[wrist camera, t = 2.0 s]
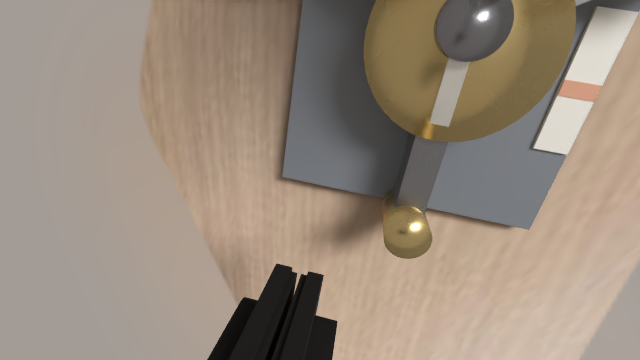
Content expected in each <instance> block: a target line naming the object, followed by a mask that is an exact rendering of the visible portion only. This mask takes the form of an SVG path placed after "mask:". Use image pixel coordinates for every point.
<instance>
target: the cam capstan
mask: <svg viewBox="0 0 640 360" xmlns="http://www.w3.org/2000/svg"><path fill="white" fill-rule="evenodd" d="M588 1H590V0H376V1H375V3H374V6H373V9H372V11H371V14H370V16H369V20H368V24H367V28H366V32H365V40H364V65H365V72H366V76H367V80H368V84H369V86H370V89H371V91H372V94H373V96H374V98H375V99H376V101H377V103H378V104H379V106H380V107H381V109H382V110H383V111H384V113H385V114H386V115H387V116H388V117H389V118H390V119H391V120H392V121H393V122H395V123H396V124H397V125H399V126H400V127H401V128H403V129H405V130H406V131H408V132H410V134H409V137H408V141H407V144H406V148H405V152H404V155H403V159H402V162H401V166H400V169H399V173H398V177H397V180H396V184H395V187H394V189H393V190H391V191H389V192H388V193H387V194H386V195H385V197H384V198H383V201H382V214H383V233H384V243H385V246H386V248H387V249H388V250H389V251H390V252H391V253H392V254H393V255H395V256H397V257H400V258H406V259H411V258H416V257H419V256H421V255H423V254H424V253H425V252H427V250H428V249H429V248H430V246H431V243H432V234H431V231H430V228H429V225H428V222H427V219H426V216H425V211H426V208H427V205H428V202H429V199H430V196H431V193H432V190H433V187H434V184H435V181H436V178H437V175H438V172H439V169H440V166H441V163H442V160H443V157H444V154H445V151H446V148H447V145H448V142H461V141H470V140H474V139H478V138H482V137H485V136H488V135H491V134H493V133H496V132H498V131H500V130H502V129H504V128H506V127H508V126H509V125H511V124H513V123H514V122H516V121H517V120H519V119H520V118H522V117H523V116H524V115H525V114H527V113H528V112H529V111H530V110H531V109H532V108H533V107H534V106H536V105H537V104H538V103H539V102H540V101H541V99H542V98H543V97H544V96H545V95H546V93H547V92H548V91H549V90H550V89H551V87H552V86H553V84H554V83H555V81H556V80H557V78H558V76H559V75H560V73H561V71H562V69H563V67H564V65H565V63H566V60H567V58H568V55H569V52H570V50H571V46H572V42H573V38H574V33H575V24H576V6H577V5H580V4H582V3H585V2H588Z"/></svg>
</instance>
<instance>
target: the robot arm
mask: <svg viewBox="0 0 640 360" xmlns="http://www.w3.org/2000/svg"><path fill="white" fill-rule="evenodd" d="M323 276H324V275H321V274H317V273H313V272H308V274H307V275H303V274H301V277H300V279H299V282H298V285H297V288H296V291H295V294H294V290H295V284H296V277H297V273H295V272H292V267H289V266H284V265H280V264H276V266H275V267H274V270H273V272H272V274H271V276H270V278H269V280H268V282H267V284H266V286H265V288H264V290H263V292H262V294H261V296H260V298H259V300H258V301H257V300H254V299H250V298H246V297H244V298H243V299H242V300H241V302H240V303H239V305H238V307H237V309H236V310H235V312H234V314H233V316H232V317H231V319H230V321H229V323H228V324H227V326H226V328H225V330H224V331H223V333H222V335H221V337H220V338H219V340H218V342H217V344H216V346H215V347H214V349H213V351H212V353H211V354H210V356H209V358H208V359H207V360H332V356H333V349H334V342H335V335H336V328H337V321H335V320H331V319H327V318H323V317H320V316H316V311H317V306H318V301H319V296H320V291H321V286H322V281H323ZM293 296H294V297H293Z"/></svg>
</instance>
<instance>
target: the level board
mask: <svg viewBox="0 0 640 360" xmlns="http://www.w3.org/2000/svg"><path fill="white" fill-rule="evenodd" d="M375 1H376V0H303V2H302V11H301V19H300V28H299V37H298V45H297V54H296V63H295V71H294V80H293V88H292V97H291V106H290V114H289V123H288V132H287V140H286V149H285V157H284V166H283V175H282V177H285V178H290V179H294V180H299V181H304V182H308V183H313V184H318V185H322V186H327V187H332V188H336V189H341V190H346V191H350V192H355V193H360V194H364V195H369V196H374V197H379V198H384V197H385V195H386V194H387V193H388V192H389V191H391V190H393V189H394V187H395V184H396V180H397V177H398V173H399V169H400V166H401V162H402V159H403V155H404V152H405V148H406V144H407V141H408V137H409V134H410V132H408V131H406V130H405V129H403V128H401V127H400V126H399V125H397V124H396V123H395V122H393V121H392V120H391V119H390V118H389V117H388V116H387V115H386V114H385V113H384V111H383V110H382V109H381V107H380V106H379V104H378V103H377V101H376V99H375V98H374V96H373V94H372V91H371V89H370V86H369V84H368V80H367V76H366V72H365V65H364V40H365V32H366V28H367V24H368V20H369V16H370V14H371V11H372V9H373V6H374V3H375ZM639 10H640V0H590V1H588V2H585V3H582V4H580V5H577V6H576V24H575V33H574V38H573V42H572V46H571V50H570V52H569V55H568V58H567V60H566V63H565V65H564V67H563V69H562V71H561V73H560V75H559V76H558V78H557V80H556V81H555V83H554V84H553V86H552V87H551V89H550V90H549V91H548V92H547V93H546V95H545V96H544V97H543V98H542V99H541V101H540V102H539V103H538V104H537V105H536V106H534V107H533V108H532V109H531V110H530V111H529V112H528V113H527V114H525V115H524V116H523V117H522V118H520V119H519V120H517V121H516V122H514V123H513V124H511V125H509V126H508V127H506V128H504V129H502V130H500V131H498V132H496V133H493V134H491V135H488V136H485V137H482V138H478V139H474V140H470V141H461V142H448V145H447V148H446V151H445V154H444V157H443V160H442V163H441V166H440V169H439V172H438V175H437V178H436V181H435V184H434V187H433V190H432V193H431V196H430V199H429V202H428V205H427V208H430V209H435V210H439V211H444V212H449V213H453V214H458V215H463V216H467V217H472V218H477V219H481V220H486V221H491V222H495V223H500V224H505V225H509V226H514V227H519V228H524V229H528V230H529V229H530V227H531V225H532V223H533V221H534V219H535V217H536V215H537V213H538V211H539V209H540V207H541V205H542V203H543V201H544V199H545V197H546V195H547V193H548V191H549V189H550V187H551V185H552V183H553V181H554V179H555V177H556V175H557V173H558V171H559V169H560V167H561V165H562V163H563V161H564V159H565V157H566V155H567V154H568V152H569V151H570V149H571V147H572V145H573V143H574V141H575V139H576V137H577V135H578V133H579V131H580V129H581V127H582V125H583V123H584V121H585V119H586V117H587V115H588V113H589V111H590V109H591V107H592V105H593V103H594V102H595V100H596V98H597V96H598V94H599V92H600V90H601V88H602V85H603V83H604V81H605V79H606V77H607V75H608V73H609V71H610V69H611V67H612V65H613V63H614V61H615V59H616V57H617V55H618V53H619V51H620V49H621V47H622V45H623V43H624V41H625V39H626V37H627V35H628V33H629V31H630V29H631V27H632V25H633V23H634V21H635V19H636V17H637V15H638V13H639Z"/></svg>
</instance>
